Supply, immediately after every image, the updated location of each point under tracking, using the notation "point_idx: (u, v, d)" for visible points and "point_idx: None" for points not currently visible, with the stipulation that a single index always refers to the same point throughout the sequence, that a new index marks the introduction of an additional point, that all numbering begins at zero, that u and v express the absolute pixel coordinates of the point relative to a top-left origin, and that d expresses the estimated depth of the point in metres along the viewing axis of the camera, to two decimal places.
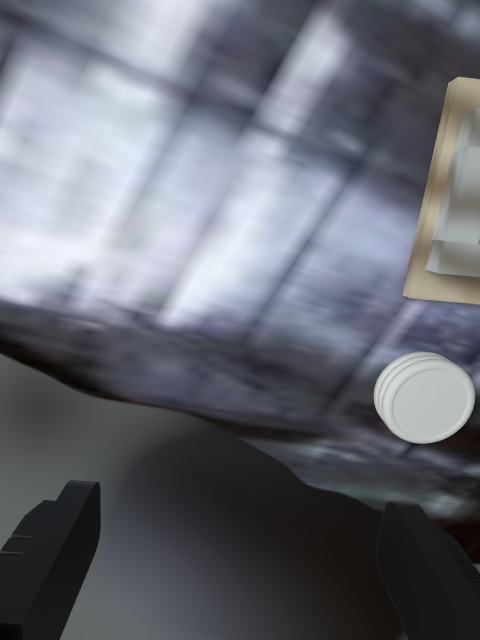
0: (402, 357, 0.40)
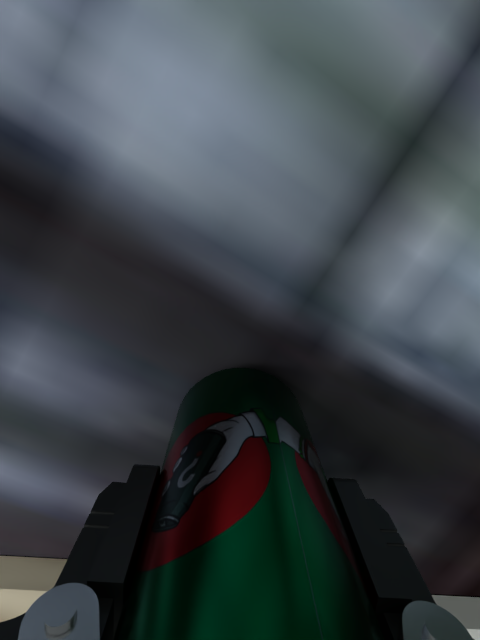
0: None
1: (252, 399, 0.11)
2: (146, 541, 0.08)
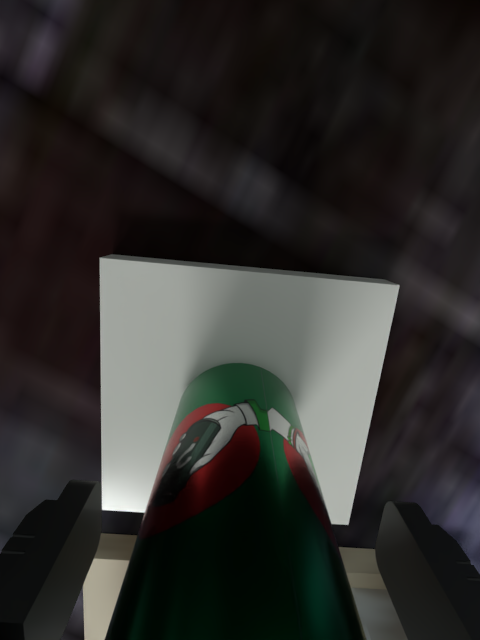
0: None
1: (246, 392, 0.12)
2: (147, 514, 0.09)
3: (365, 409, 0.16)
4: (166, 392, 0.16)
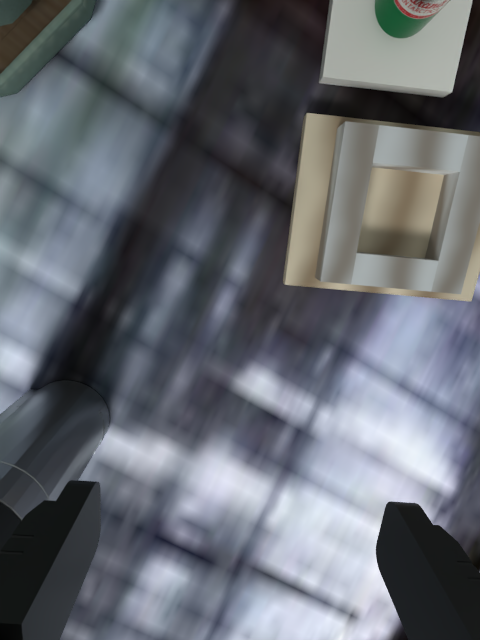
0: None
1: None
2: None
3: (466, 8, 0.31)
4: None
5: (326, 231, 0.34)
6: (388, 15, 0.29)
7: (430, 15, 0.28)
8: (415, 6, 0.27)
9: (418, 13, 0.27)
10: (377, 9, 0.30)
